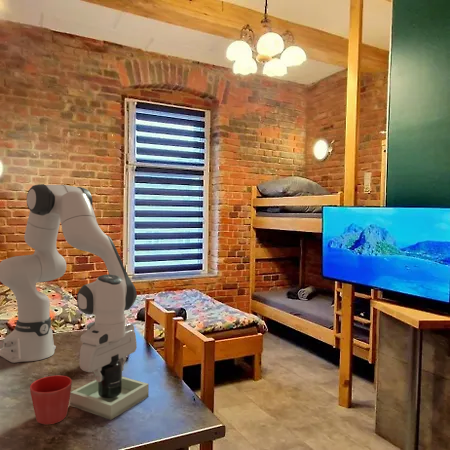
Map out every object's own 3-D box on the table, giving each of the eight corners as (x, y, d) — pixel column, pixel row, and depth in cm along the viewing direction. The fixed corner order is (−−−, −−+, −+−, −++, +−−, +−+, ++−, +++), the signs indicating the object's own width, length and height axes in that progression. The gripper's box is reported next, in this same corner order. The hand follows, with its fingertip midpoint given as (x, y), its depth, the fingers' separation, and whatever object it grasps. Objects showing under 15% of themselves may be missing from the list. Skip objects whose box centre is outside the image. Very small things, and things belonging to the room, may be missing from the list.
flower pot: (29, 431, 108) (29, 395, 107) (30, 411, 118) (30, 378, 117) (73, 423, 112) (72, 388, 111) (70, 405, 122) (70, 372, 122)
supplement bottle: (115, 400, 121) (115, 359, 120) (93, 397, 122) (93, 357, 121) (125, 389, 127) (125, 351, 127) (105, 387, 129) (104, 349, 128)
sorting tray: (70, 405, 122) (70, 392, 122) (109, 385, 136) (109, 372, 136) (110, 419, 114) (110, 405, 114) (148, 396, 128) (148, 383, 128)
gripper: (126, 320, 134) (126, 362, 135) (75, 337, 117) (75, 386, 117) (141, 323, 131) (141, 366, 132) (92, 341, 113) (92, 391, 114)
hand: (110, 375), depth 125 cm, fingers closed on supplement bottle, 7 cm apart
